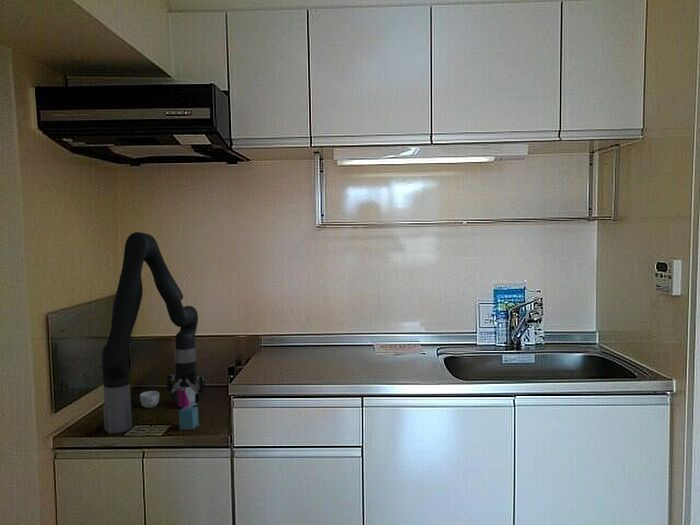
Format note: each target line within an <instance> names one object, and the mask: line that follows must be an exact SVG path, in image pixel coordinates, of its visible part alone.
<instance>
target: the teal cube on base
mask: <svg viewBox="0 0 700 525" xmlns="http://www.w3.org/2000/svg"><path fill="white" fill-rule="evenodd" d="M178 416H179V417H178V418H179V420H178V421H179V428H180V429H193V428H195V427H196V426H197V425H198V424H199V407H198V406H195V407H184V408H180V410H179V411H178Z"/></svg>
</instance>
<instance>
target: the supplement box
mask: <svg viewBox="0 0 700 525" xmlns="http://www.w3.org/2000/svg"><path fill="white" fill-rule="evenodd" d="M175 381H176V380H175ZM176 383H177V381H176ZM177 391H178V401H177V407H178V408H180V409H183V408H184V407H198V403H195V394H196V393H195V392H194V390H192V389H191V387H181V386H180V387H179V388H178V390H177Z"/></svg>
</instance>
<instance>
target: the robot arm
mask: <svg viewBox="0 0 700 525" xmlns="http://www.w3.org/2000/svg"><path fill="white" fill-rule="evenodd" d="M144 262H145V263H146V264H147V267H148V268H149V270H150V272H151V274H152V277H153V282H154V285H155V287H156V289H157V291H158V293H159V295H160V296H161V298H162V300H163V301H164V303H165V306H166V310H167V313H168V316H169V319H170V320H171V321H170V322H171V323H172V324H174V325H175V326H176V327H178V328H180V329H179V331H178V332H177V333H176V335H175V341H174V342H175V353H174V360H175V361H174V368H175V369H174V370H175V371H174V372H175V374H173V373H170V374H168V375H167V380H166V390H167V391H168V392H171V394H172V395H171V396H172V398H171V399H172V402H173V403H178V391H177V390H178V388H179V387H180V386H181V387H191V389H192V390H194V392H195V393H196V394H195V403H197V404H199V403H200V402H201V400H202V399H201V398H202V397H201V394H202V393H203V392H205V391H206V380H205V379H206V377H205V375H204V374H202V375H198V374H197V352H196V351H197V350H196V332H197V329H198V323H199V315H198V311H197V308H195V307H194V306H192V305H185V306H184V305H183V303H182V300H183V299H184V294H183V292H182V290H181V289H180V287H179V285H178V284H177V282H176V280H175V278H174V277H173V276H172V273H171V272H170V270H169V269H168V266H167V264H166V262H165V260H164V257H163V255H162V252H161V249H160V247H159V245H158V242H157V240H156V239H155V237H154V236H153V235H151V234H149V233H146V232H145V233H144V232H140V231H136V232H133V233H131V234H129V236H128V237H127V238H126V241H125V244H124V251H123V261H122V268H121V272H120V276H119V278H118V279H119V280H118V285H117V288H116V293H115V296H114V301H113V305H112V310H111V311H112V314H111V323H110V324H111V325H110V332H109V335H108V338H107V342H106V344H105V345H104V346H103V348H102V351H101V363H102V364H101V366H102V368H101V369H102V383H103V400H104V404H103V405H102V411H103V424H104V425H103V427H104V430H105V432H107V434H119V433H125V432H127V431H130V430H131V429H132V428H133V419H132V418H133V416H132V400H131V395H132V394H131V380H130V378H131V377H130V367H129V366H130V362H129V354H130V344H131V336H132V332H133V330H134V327H135V324H136V321H137V317H138V314H139V310H140V307H141V303H142V299H143V293H144V292H143V289H144V288H143V281H142V270H143V265H144ZM174 380H175V381H177V382H176V383H175V385H174Z"/></svg>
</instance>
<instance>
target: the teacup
mask: <svg viewBox="0 0 700 525" xmlns="http://www.w3.org/2000/svg"><path fill="white" fill-rule="evenodd" d="M139 401H140V404H141V406H142V407H144V408H145V409H150V408H155V407H156V406H157V405H158V404H159V402H160V392H159V391H156V390H148V391H143V392H141V393H140V394H139Z"/></svg>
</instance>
